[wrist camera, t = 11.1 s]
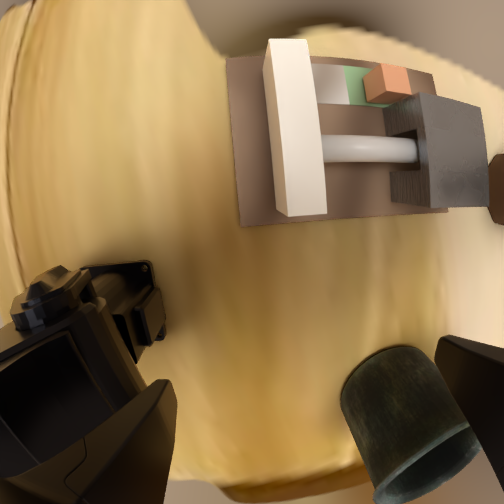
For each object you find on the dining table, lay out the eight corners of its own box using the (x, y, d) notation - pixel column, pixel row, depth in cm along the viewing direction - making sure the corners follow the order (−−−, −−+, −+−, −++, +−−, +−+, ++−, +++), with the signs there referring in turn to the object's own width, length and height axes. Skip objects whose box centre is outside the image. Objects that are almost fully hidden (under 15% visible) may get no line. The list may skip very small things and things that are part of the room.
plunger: (276, 209, 18) (287, 216, 14) (262, 69, 16) (269, 38, 12) (398, 202, 18) (435, 207, 14) (383, 76, 16) (414, 55, 12)
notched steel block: (390, 201, 19) (430, 208, 14) (382, 108, 17) (418, 91, 12) (447, 200, 19) (489, 206, 14) (440, 117, 17) (480, 107, 12)
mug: (386, 320, 22) (467, 405, 10) (455, 368, 24) (513, 426, 13) (311, 407, 24) (342, 508, 12) (396, 433, 26) (433, 501, 15)
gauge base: (240, 225, 20) (240, 227, 19) (226, 63, 17) (225, 57, 16) (441, 210, 20) (448, 212, 19) (425, 77, 17) (432, 74, 16)
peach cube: (367, 102, 17) (386, 90, 14) (362, 77, 16) (380, 63, 13) (390, 104, 17) (411, 94, 14) (386, 80, 16) (405, 67, 13)
